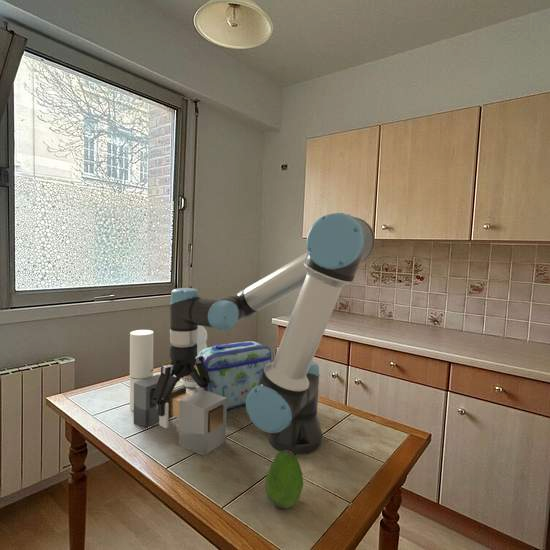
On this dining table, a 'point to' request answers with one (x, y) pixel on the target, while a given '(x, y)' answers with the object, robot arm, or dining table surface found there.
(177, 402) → the square peg
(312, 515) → the dining table surface
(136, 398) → the socket
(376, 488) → the dining table surface
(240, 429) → the dining table surface
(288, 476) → the avocado
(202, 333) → the fruit juice
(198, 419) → the sleeve
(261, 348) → the lunch box
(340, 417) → the dining table surface
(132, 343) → the cylindrical container
